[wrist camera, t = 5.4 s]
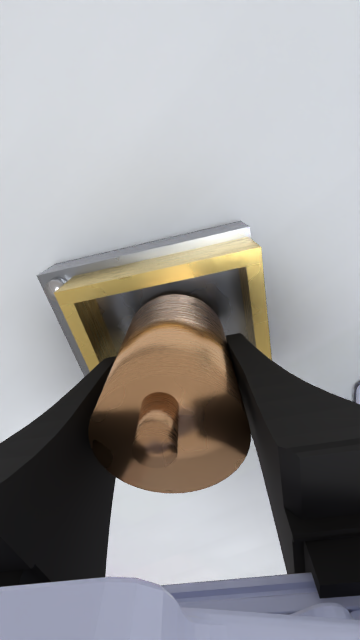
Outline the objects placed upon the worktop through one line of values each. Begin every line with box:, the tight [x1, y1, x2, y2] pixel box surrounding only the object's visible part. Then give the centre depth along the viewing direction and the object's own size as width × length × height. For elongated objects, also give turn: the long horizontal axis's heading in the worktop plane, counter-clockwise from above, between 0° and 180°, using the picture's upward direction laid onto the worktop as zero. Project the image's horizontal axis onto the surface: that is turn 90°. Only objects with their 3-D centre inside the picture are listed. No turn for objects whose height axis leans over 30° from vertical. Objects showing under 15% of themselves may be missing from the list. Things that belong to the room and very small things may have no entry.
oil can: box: [88, 294, 251, 493], centre depth 10 cm, size 5×5×7 cm
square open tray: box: [37, 221, 272, 376], centre depth 14 cm, size 9×10×4 cm
